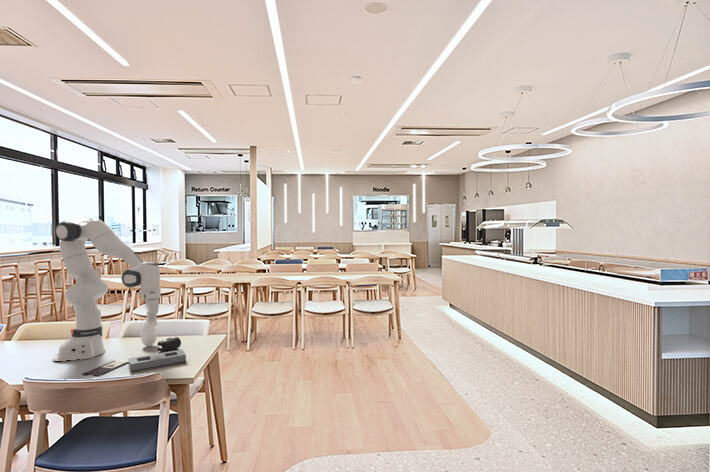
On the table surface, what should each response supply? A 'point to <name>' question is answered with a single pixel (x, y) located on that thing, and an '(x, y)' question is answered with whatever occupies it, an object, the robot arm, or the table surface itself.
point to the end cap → (169, 345)
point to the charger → (153, 323)
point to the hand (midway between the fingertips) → (151, 320)
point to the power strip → (156, 360)
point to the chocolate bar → (106, 368)
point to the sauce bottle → (148, 335)
